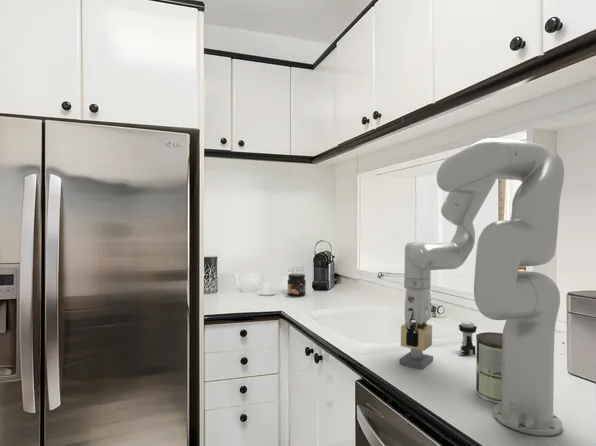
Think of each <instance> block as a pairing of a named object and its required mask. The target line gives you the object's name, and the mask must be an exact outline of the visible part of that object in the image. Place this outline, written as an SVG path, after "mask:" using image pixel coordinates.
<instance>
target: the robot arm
mask: <svg viewBox="0 0 596 446" xmlns="http://www.w3.org/2000/svg"><path fill="white" fill-rule="evenodd" d="M497 180H510V181H511V180H512V181H514V180H515V181H520V182H521V184H520V185H519V186H518V188H517V189H516V191H515V193H514V196H513V199H512V203H511V215H510V219H509V220H507V219H506V220H505V219H504V220H497V221H494V222H491V223H489V224H488V225H487V226H485V227H484V228H483V230H482V231H481V232H480V235H479V237H478V239H477V244H476V249H475V250H476V253H475V254H476V255H475V267H474V269H475V270H474V281H473V296H474V302H475V306H476V308H477V309H478V310H479V312H480V313H481V314H482V315H483V316H484V317H485V318H486V319H487V318H488V319H490V320H493V321H505V322H504V325H503V329H502V333H503V334H502V403H499V404H497V403H496V405H494V407H493V411H492V412H493V416H494V418H495V419H496V420H497V421H498V422H499V423H501V424H502V425H504V426H506V427H508V428H509V429H510V428H511V429H512V430H514V431H518V432H520V433H523V434H529V435H534V436H539V437H543V436H544V437H547V436H548V437H550V436H554V435H555V436H556V435H558V434H560V433H561V432H562V431H563V422H562V420H561V419H560V418H559V417H558V416H557V415H556V414H554V393H555V391H554V383H555V380H554V377H555V375H554V374H555V372H554V371H555V370H554V369H555V365H554V364H555V335H556V334H555V333H556V332H555V330H556V324H557V319H558V314H559V309H560V305H561V294H560V290H559V289H560V288H559V287H558V285H557V284H556V282H555V281H554V280H553V279H552V278H551V277H549V276H548V275H546V274H544V273H542V272H536V271H519V267H536V266H543V265H546V264H548V263H550V262H551V261H552V260H553V258H554V257H555V255H556V254H555V253H556V250H557V242H558V231H559V230H558V229H559V219H560V218H559V217H560V205H561V204H560V203H561V194H562V190H563V186H564V180H565V166H564V162H563V159H562V158H561V156H560V155H559V154H558V152H556V150H554V149H553V148H551V147H549V146H547V145H544V144H542V143H537V142H533V141H525V140H519V139H518V140H517V139H507V138H495V137H492V138H491V137H490V138H485V139H481V140H479V141H477V142H475V143H474V142H473V144H471V145H469V146H467V147H465V148H464V149H461V150H459V151H458V152H455V153H454V154H452V155H450V156H448V157H447V158H446V159H445V160H444V161H443V162H442V163H441V164H440V166H439V168H438V170H437V171H436V183H437V186H438V187H439V188H440V190H442V191H443V192H447V193H448V194H447V196H446V198H445V200H444V202H443V204H442V206H441V208H440V212H441V213H440V214H441V215H442V216H443V217H444V219H445V220H446V221H448V222H449V223H450V224H452V225H454V226H456V229H455V233H454V235H453V237H452V239H451V240H450V241H449V242H440V243H439V242H438V243H437V242H436V243H433V242H431V243H428V242H416V241H415V242H407V243H406V244H405V246H404V277H403V278H404V279H403V281H404V282H403V283H404V284H403V285H404V286H403V287H404V289H406V290H405V297H404V298H405V299H404V300H405V301H404V324H406V345H408V346H413V347H417V346H418V333H416V332H417V326H418V324H427V322H428V321H429V320H430V319H431V318H432V317H431V315H432V311H431V309H432V308H431V294H430V291H431V278H432V277H431V274H432V273H431V271H440V270H441V271H443V270H454V269H455V270H456V269H458V268H460V267H461V266H462V265H464V263H465V262H466V261H467V259H468V257H469V256H470V254H471V253H472V251H473V249H474V246H475V242H476V241H475V240H476V229H475V226H474V221H475V218H476V217H477V215H478V214H479V211H480V209H481V208H482V206H483V205H484V203H485V201H486V199H487V197H488V195H489V194H490V192H491V190H492V188H493V187H494V186H495V184H496V181H497ZM411 324H413V325H414V327H413V325H411Z"/></svg>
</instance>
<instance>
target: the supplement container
mask: <svg viewBox="0 0 596 446" xmlns="http://www.w3.org/2000/svg"><path fill="white" fill-rule="evenodd" d="M287 277H288V279H287V281H286V282H287V295H288V296H289V297H292V298H293V297H294V298H296V297H297V298H302V297H304V296H306V293H307V292H306V291H307V290H306V284H307V283H306V279H305V278H306V275H305V273H289V274H288V275H287Z"/></svg>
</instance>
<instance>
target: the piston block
mask: <svg viewBox="0 0 596 446" xmlns="http://www.w3.org/2000/svg"><path fill="white" fill-rule="evenodd" d="M423 352H424V351H422V350H417V349H412V348H410V351H409V352H408V353H406V354H405V355H403V356H402V357H400V358H399V365H402V366H407V367H410V368H414V369H419V370H424V369H425V368H427V367H428V366H429V365H431V364H432V363H433V362H434V356H433V355H431V354H426V353H423Z"/></svg>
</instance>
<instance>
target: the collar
mask: <svg viewBox="0 0 596 446" xmlns="http://www.w3.org/2000/svg"><path fill="white" fill-rule="evenodd" d="M411 325H413V324H411ZM413 327H414V325H413ZM416 333H418V346H417V347H413V346H408V345H406V324H405V323H404V324H402V325H401V326H400V347H403V348H408V349H411V348H412V349H417V350H422V351H423V352H424V351H426V350H427V349H428V348H430V347H432V346H433V325H432V324H418V326H417V332H416Z"/></svg>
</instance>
